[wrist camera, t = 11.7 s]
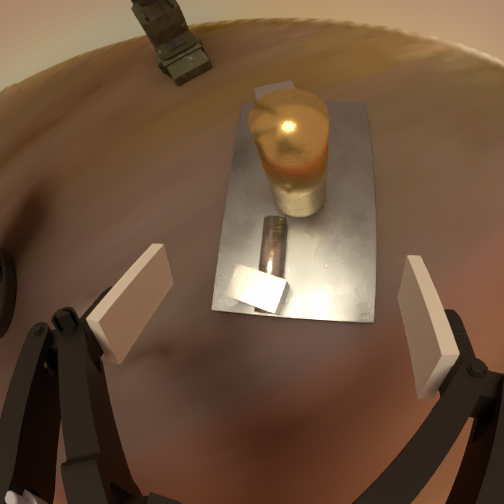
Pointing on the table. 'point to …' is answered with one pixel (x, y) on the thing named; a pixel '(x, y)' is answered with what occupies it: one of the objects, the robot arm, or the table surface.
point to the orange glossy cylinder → (293, 148)
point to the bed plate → (301, 231)
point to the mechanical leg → (171, 39)
